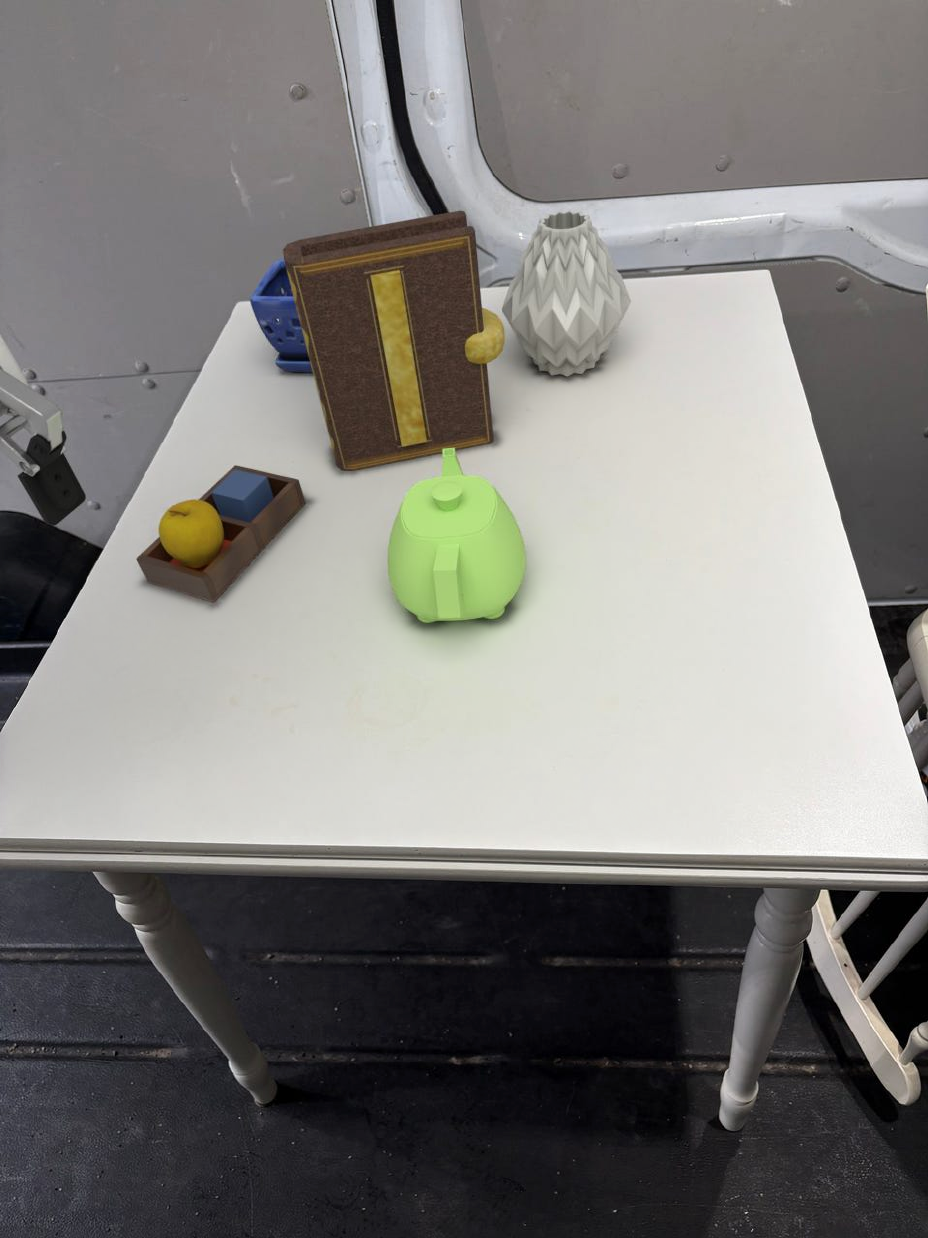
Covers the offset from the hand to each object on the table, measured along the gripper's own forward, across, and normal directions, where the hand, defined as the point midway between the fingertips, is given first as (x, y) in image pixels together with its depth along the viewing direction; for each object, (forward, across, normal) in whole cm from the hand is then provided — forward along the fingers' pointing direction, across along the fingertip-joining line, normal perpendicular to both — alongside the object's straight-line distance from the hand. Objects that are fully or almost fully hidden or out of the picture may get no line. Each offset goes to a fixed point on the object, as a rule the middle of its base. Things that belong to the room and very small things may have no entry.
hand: (15, 497), depth 57 cm
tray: (+26, -10, +24) cm, 37 cm away
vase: (+26, +12, +71) cm, 77 cm away
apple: (+26, -10, +20) cm, 34 cm away
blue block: (+26, -10, +28) cm, 40 cm away
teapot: (+26, +18, +26) cm, 41 cm away
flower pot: (+26, -22, +63) cm, 72 cm away
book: (+26, +2, +48) cm, 55 cm away
